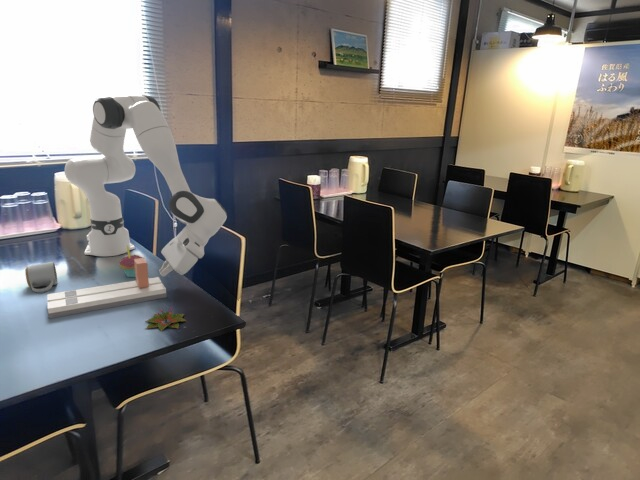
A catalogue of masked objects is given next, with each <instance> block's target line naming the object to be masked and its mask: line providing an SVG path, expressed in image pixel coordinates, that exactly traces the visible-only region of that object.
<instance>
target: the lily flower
mask: <svg viewBox="0 0 640 480" xmlns="http://www.w3.org/2000/svg"><path fill="white" fill-rule="evenodd" d="M161 308H162V309H161ZM161 308H158V309H159V311H160V313H159V312H157V313H153V316H152V317H151V318H149V319H147V320H145V321H144V322H145V323H146V322H147V323H148V322H149V324H148V325H147V326H146V327H145V329H146V330H147V329H153V328H158V329H159V330H160V332H162V331H163V330H164V329H165V328H173V329H179V328H180V327H179V326H180V323H179V322H187V320H186V319H185V318H183V317H184V316H185V315H186V314H185V313H176V314H175V313H174V312H172V310H173V311H174V309H173V308H169V309H167V311H166V312H165V310H164V308H163V307H161ZM168 321H169V322H168Z"/></svg>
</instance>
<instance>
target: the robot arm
mask: <svg viewBox="0 0 640 480" xmlns="http://www.w3.org/2000/svg"><path fill="white" fill-rule="evenodd" d="M92 112H93V119H92V125H91V130H90V137H89V141H90V145H91V147H92V149H94V150H95V151H96V152H98V153H99V154H100V155H86V156H85V155H84V156H79V157H74V158H70V159H68V160H67V161H66V163H65V165H64V175H65V177H66V178H65V179H67V180H68V181H69V183H70V184H72V185H73V186H75V187H77V188H78V189H80V190H81V192H83V194H84V195H85V196H86V199H87V200H88V206H89V210H90V217H91V218H90V221H89V222H90V228H91V230H90V231H89V232H88V234H86V241H88V242H87V245H86V248H85V250H84V255H85V256H87V255H88V256H89V255H90V256H96V257H112V256H113V257H114V256H119V255H122V254H126V253H128V252H127V246H128V247H129V251H132V250H135V249H136V247H135V245H134V244H133V243H132V242H131V241H130V240H131V239H130V234H129V230H128V229H127V228H126V227H125V223H124V222H125V220H124V217H123V216H122V215H123V214H122V205H121V199H120V197H118V196H117V194H114V193H113V192H110V191H107V190H106V187H105V185H106V184H115V183H116V184H117V183H123V182H127V181H129V180H132V179H133V178H134V176H135V175H136V165H135V162H134V161H133V159H132V158H131V157H130V156H128V155H127V154H126V153H125V150H124V143H125V138H126V137H125V136H126V133H127V130H128V129H132V130H133V133H134V134H135V138H136V139H137V140H136V141H137V142H138V144H139V146H140V148H141V150H142V151H143V154H145V155H146V157H147V158H148V160H149V162H151V163H152V164H153V165H154V166H155V167H156V169H158V171H160V174H162V176H163V177H164V179H165V182H166V183H167V187H168V188H169V190H170V192H171V197H170V199H169V203H168V207H169V209H170V213H171V214H172V215H173V216H174V217H175V218H176V219H177V220H178V221H179V222H180V223H182V224H183V225H185V226H184V227H183V228H182V230H181V231H180V232H179V233H178V234H177V235H176V236H175V237H173V238H172V239H170V241H169V242H167V244H166V245H165V246H164V247H162V249H161V251H160V252H161V254H162V256H163V257H164V258H165V260H164V262H163V263H162V265H161V267H160V269H159V270H158V273H159V275H160V276H162V277H166V276H167V275H168V274H170V273H171V272H173V270H174V271H175V272H176V273H178V274H179V275H181V276H184V275H185V274H187V273H188V272H189V271H190V270H191V268H193V267H194V266H195V264H196V263H197V262H198V261H199V259H203V257H204V255H205V246H206V245H207V243H209V240H210V238H211V237H213V236H214V235H216V234H217V233H218V231H219V230H220V229H221V228H222V226H223V225H224V224H225V222H226V220H227V217H228V212H227V210H226V209H225V207H223V205H222V204H221V202H219V201H218V200H217V199H215V198H206V197H204V196H203V197H202V196H199V195H198V194H195V193H193V192H192V190H191V188H190V187H189V184H188V182H187V179H186V177H185V175H184V173H183V171H182V168H181V164H180V160H179V155H178V151H177V146H176V142H175V141H176V140H175V139H174V135H173V133H172V131H171V128H170V126H169V124H168V122H167V120H166V118H165V116H164V114H163V113H162V112H161V107H160V105H159V103H158V101H157V99H156V98H154V97H153V96H149V95H146V94H142V95H138V94H127V93H126V94H125V93H124V94H119V95H104V96H100V97H99V96H98V97H97V98H96V99H95V100H94V103H93V105H92Z"/></svg>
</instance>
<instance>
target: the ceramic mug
mask: <svg viewBox="0 0 640 480" xmlns="http://www.w3.org/2000/svg"><path fill="white" fill-rule="evenodd" d="M25 280H26V283H27V286H28V287H29V288H31V290H32V291H33V292H34V293H39V294H41V293H46V292H48V291H49V290H51V289H52V287H53V286H55V285H58V274H57V268H56V264H55V262H54V261H49V262H44V263H38V264H32V265H29V266H26V268H25ZM39 287H43V288H39Z"/></svg>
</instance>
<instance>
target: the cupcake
mask: <svg viewBox="0 0 640 480" xmlns="http://www.w3.org/2000/svg"><path fill="white" fill-rule="evenodd" d="M126 253H127V256H124V257H123V258H122V259H120V261H119V268H120V269H122V270H123V272H124V273H125V275H126V277H127V278H136V275H135V264H134V259H138V258H143V257H142V256H140V255H137V254H131V252H130V250H129V247H128V246H127V252H126Z"/></svg>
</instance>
